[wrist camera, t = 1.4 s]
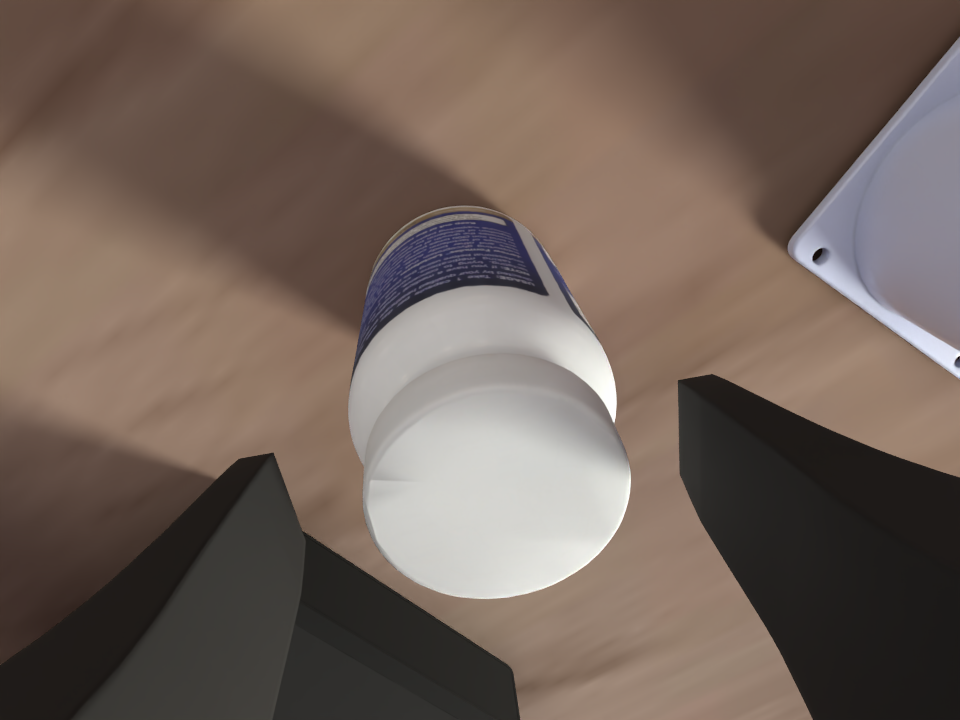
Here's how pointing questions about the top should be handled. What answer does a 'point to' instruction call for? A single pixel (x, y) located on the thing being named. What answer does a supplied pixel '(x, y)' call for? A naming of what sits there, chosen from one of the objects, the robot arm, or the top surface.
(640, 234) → the top surface
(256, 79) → the top surface
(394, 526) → the pill bottle
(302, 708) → the external hard drive
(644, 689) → the top surface
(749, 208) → the top surface
